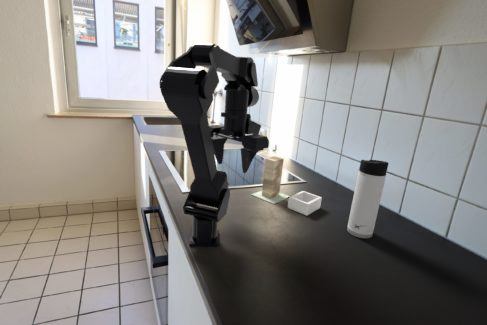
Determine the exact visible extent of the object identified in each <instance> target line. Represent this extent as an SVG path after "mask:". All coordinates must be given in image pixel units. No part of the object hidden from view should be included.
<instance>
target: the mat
mask: <svg viewBox="0 0 487 325" xmlns="http://www.w3.org/2000/svg"><path fill="white" fill-rule="evenodd" d="M250 195H251V196H253V197H254V198H257V199H260V200H262V201H265V202H267V203H270V204H272V205H276V204H277V203H280V202H282V201H284V200H286V199H289V198H288V197H290V196H291V195H287V194H286V193H282V192H280V193H279V195H278V196H276V197H274V198H271V199H269V198H267V197H264V196H262V190H259V191H256V192H254V193H251V194H250Z"/></svg>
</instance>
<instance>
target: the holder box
mask: <svg viewBox="0 0 487 325" xmlns="http://www.w3.org/2000/svg"><path fill="white" fill-rule="evenodd" d="M289 196H290V197H289V198H288V202H287V209H290V210H292V211H295V212H297V213H300V214H301V215H304V216H309V215H311V214H312V213H314V212H315V211H317V210H319V209H320V208H321V205H322V204H321V203H322V200H323V199H322V198H323V197H322V196H319V195H316V194H314V193H310V192H308V191H305V190H302V191H299V192H297V193H295V194H293V195H289Z"/></svg>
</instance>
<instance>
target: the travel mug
mask: <svg viewBox="0 0 487 325" xmlns="http://www.w3.org/2000/svg"><path fill="white" fill-rule="evenodd" d="M388 167H389V162H388V161H384V160H377V159H369V160H368V159H367V160H365V159H361V160H360V164H359V169H358V173H357V178H356V182H355V183H356V184H355V188H354V193H353V198H352V202H351V206H350V212H349V217H348V221H347V222H348V223H347V228H346V230H347V232H348V233H349V234H350V235H351V236H354V237H356V238H359V239H370V238H372V237H373V233H374V229H375V225H376V221H377V217H378V213H379V210H380V209H379V208H380V203H381V200H382V199H381V198H382V194H383V190H384V185H385V182H386V177H387V171H388Z"/></svg>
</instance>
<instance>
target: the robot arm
mask: <svg viewBox="0 0 487 325" xmlns="http://www.w3.org/2000/svg"><path fill="white" fill-rule="evenodd" d="M256 65H257V64H256V63H255V61H254V59H253V57H249V56H247V57H246V56H236V55H234V54H231V52H230V53H229V52H228V51H226V50H225V49H223V48H221V47H220V46H219V45H217V44H216V43H202V42H195V43H194V44H191V45H190V46H189V48H188V49H187V51H186V52H184V53H182V54H181V55H179V56H178V57H176V58H174V59H173V60H172V61H171V62H170V63H169V64H168V66H167V67H166V69H165V70H164V72H163V73H162V75H160V78H159V89H160V93H161V96H162V98H163V100H164V103H165V104H166V107H167V109H168V110H169V111H170V112H171V113H172V114H173V115H174V116H175V117H176V118H177V120H179V121H180V124H181V128H182V132H183V136H184V137H183V138H184V140H185V141H184V142H185V144H186V149H187V152H188V153H187V154H188V156H189V161H190V164H191V165H190V166H191V168H192V171H193V176H194V179H193V181H192V182H191V184H190V186H189V192H188V195H187V197H186V199H185V201H184V205H183V206H182V210H183V214H184V215H189V216H192V229H191V231H190V235H189V236H190V237H189V241H188V245H189V246H197V247H198V246H204V247H205V246H206V247H207V246H208V247H217V246H219V245H220V244H219V242H220V241H219V238H220V235H219V234H220V230H219V229H218V225H219V223H220V221H222V220H223V218H224V217H225V216H227V213H228V209H229V208H228V207H229V203H230V202H229V201H230V199H231V198H230V196H231V191H230V189H229V185H230V184H229V182H228V174H227V173H226V171H221V170H218V168H217V164H218V165H222V164H223V162H224V152H225V151H224V150H225V144H226V142H227V140H228V139H229V140H233V141H235V142H240V143H241V146H242V147H241V148H240V156H241V169H242V173H243V174H246V173H248V171H249V168H250V166H251V165H252V163H253V159H254V158H255V156H256V155H257V153H260V152H261V151H264V149H268V148H269V143H270V139H269V138H268V136H266V135H262V134H260V131H261V128H262V125H261V124H259V123H258V122H255V121H253V120H252V117H251V113H248V108H250V107H254V106H255V105H256V104H258V102H259V100H260V94H259V92H258V89H257V88H258V85H259V83H258V75H257V74H258V73H257V66H256ZM197 67H203V68H206V69H208V71H206V69H201V68H200V69H199V68H197ZM218 73H221V75H220V76H221V77H222V78H223V79H224V81H225V82H226V84H225V86H224V87H223V91H225V100H224V112H223V111H221V113H220V117H221V118H224V119H223V125H218V124H213V125H210V124H209V119H208V111H209V109H210V107H211V105H212V103H213V101H214V93H215V91H216V90H217V87H218V85H219V84H220V78H219V75H218ZM255 87H257V88H255ZM216 161H217V163H216Z"/></svg>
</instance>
